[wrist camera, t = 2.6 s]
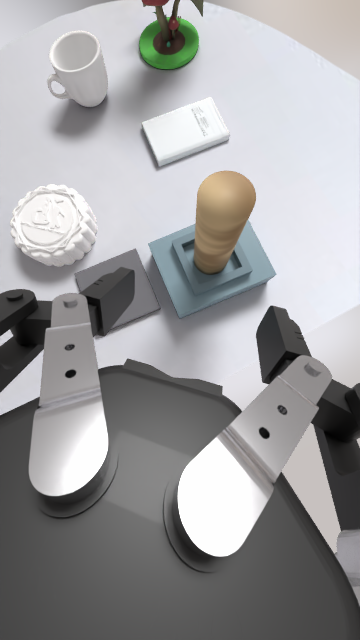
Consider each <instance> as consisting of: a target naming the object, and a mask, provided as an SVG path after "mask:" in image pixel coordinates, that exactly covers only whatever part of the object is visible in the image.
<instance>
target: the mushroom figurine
mask: <svg viewBox="0 0 360 640" xmlns="http://www.w3.org/2000/svg"><path fill="white" fill-rule="evenodd" d="M168 1H169V0H142V2H143V7H145V6H146V5H147V6H155V7H156V12H153V13H155V14H156V15H157V20H156V21H154V22H153V23H151V24H150V25H148V26H147V27H146V28H145V29H144V31H143V32H142V34H141V37H140V40H139V47H140V52H141V55H142V57H143V59H144V60H145V61H146V62H147V63H148V64H150V65H151V66H153V67H156V68H159V69H174V68H178V67H181V66H183V65H185V64H186V63H188V62H189V61H190V60H191V59H192V58H193V57H194V56H195V54H196V52H197V50H198V44H199V37H198V33H197V30H196V29H195V27H194V26H193V25H192V24H191V23H189V22H188V21H186V20H184V19H181V16H180V18H179V16H178V18H177V11H178V5H179V2H180V0H175V1H174V5H173V10H172V16H171V17H166V15H164V12H163V9H162V6H163V5H165V4H166V3H167V2H168ZM191 1H192V2H193V3H194V4H195V6H196V7H197V9H198V10H199V12H200V13H201V15H202V17H203V0H191Z"/></svg>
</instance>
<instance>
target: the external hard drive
mask: <svg viewBox="0 0 360 640" xmlns="http://www.w3.org/2000/svg"><path fill="white" fill-rule="evenodd" d="M141 125H142V129H143V131H144V133H145V136H146V138H147V140H148V143H149V145H150V147H151V150H152V152H153V154H154V156H155V159H156V161H157V163H158V166H159V167H160V166H163V165H165V164H168V163H171V162H173V161H176V160H178V159H181V158H183V157H186V156H189V155H191V154H194V153H196V152H199V151H201V150H204V149H207V148H209V147H212V146H214V145H217V144H219V143H222V142H224V141H227V140H229V137H230V134H229V131H228V129H227V127H226V125H225V123H224V121H223V119H222V117H221V115H220V113H219V111H218V109H217V107H216V105H215V104H214V101H213V100H212V98H211V97H208V98H206V99H203V100H200V101H198V102H195V103H192V104H190V105H187V106H184V107H181V108H179V109H176V110H174V111H171V112H168V113H165V114H163V115H160V116H158V117H155V118H152V119H150V120H147V121H144V122H142V123H141Z"/></svg>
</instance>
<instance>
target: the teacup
mask: <svg viewBox="0 0 360 640" xmlns="http://www.w3.org/2000/svg"><path fill="white" fill-rule="evenodd" d="M49 59H50V62H51V64H52V66H53V68H54V70H55V72H56V74H52V75H50V76H49V77H48V80H47V84H48V88H49V90H50V92H51V93H52V95H53V96H55V97H57V98H59V99H73V100H74V101H76V102H77V103H78V104H80V105H82V106H85V107H95V106H97V105H99V104H100V103H101V102H102V101H103V100H104V98H105V96H106V94H107V89H108V78H107V72H106V67H105V63H104V59H103V55H102V51H101V48H100V44H99V41H98V39H97V38H96V37H95V36H94V35H93V34H91V33H89V32H86V31H72V32H69V33H66V34H64V35H62V36H61V37H59V38H58V39H57V40H56V41H55V42H54V43H53V45H52V46H51V49H50V52H49ZM52 81H56V82H58V83H60V84H61V85H62V86H63V87H64V88H65V92H64V93H63V94H56V93H54V92H53V90H52V88H51V82H52Z"/></svg>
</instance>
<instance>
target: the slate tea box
mask: <svg viewBox="0 0 360 640" xmlns="http://www.w3.org/2000/svg"><path fill="white" fill-rule="evenodd" d="M195 225H196V224H194V225H192V226H189V227H187V228H184V229H182V230H180V231H177V232H175V233H172V234H170V235H168V236H165V237H163V238H160V239H158V240H156V241H153V242H151V243H148V245H149V247H150V250H151V253H152V255H153V257H154V260H155V262H156V264H157V267H158V269H159V272H160V274H161V276H162V279H163V281H164V283H165V286H166V288H167V290H168V293H169V295H170V297H171V300H172V302H173V305H174V307H175V309H176V312H177V314H178V316H179V319H180V318H183V317H185V316H187V315H190V314H192V313H195V312H197V311H199V310H202V309H204V308H206V307H209V306H211V305H214V304H216V303H218V302H221V301H223V300H225V299H228V298H230V297H233V296H235V295H237V294H240V293H242V292H244V291H247V290H249V289H252V288H254V287H256V286H259V285H261V284H263V283H266V282H268V281H269V280H270V279H271V278H273V277H274V276H275V275H276V273H275V271H274V269H273V267H272V265H271V263H270V261H269V259H268V257H267V255H266V253H265V252H264V250H263V248H262V246H261V244H260V242H259V240H258V238H257V236H256V234H255V232H254V230H253V228H252V226H251V224H250V222H249V221H248V220H247V222H246V225H245V227H244V229H243V231H242V233H241V235H240V237H239V239H238V241H237V244H236V246H235V248H234V250H233V252H232V254H231V256H230V258H229V261H228V263H227V265H226V267H225V268H224V269H223V270H222V271H221V272H220V273H218V274H215V275H206V274H203V273H202V272H200V271H199V270H198V269H197V268H196V266H195V264H194V242H195Z"/></svg>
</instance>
